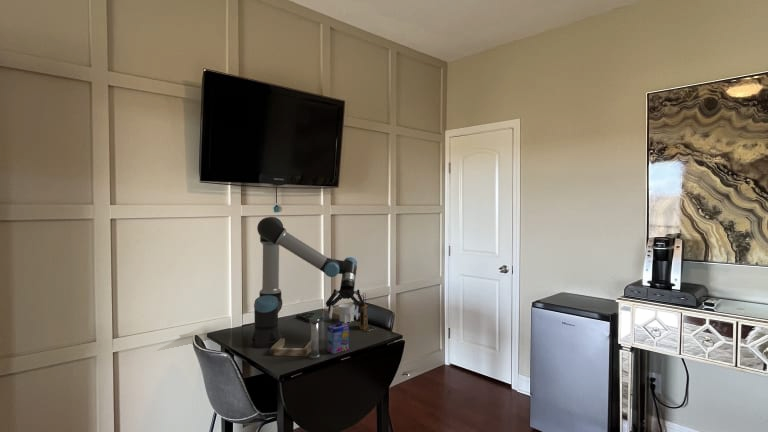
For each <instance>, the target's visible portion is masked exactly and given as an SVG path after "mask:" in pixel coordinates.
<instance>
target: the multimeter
mask: <svg viewBox="0 0 768 432" xmlns="http://www.w3.org/2000/svg"><path fill="white" fill-rule="evenodd" d="M360 295H361V297H362V300H363V302H364V305H365V307H361V312H360V313H359V330H360V329H361V330H362V332H363V333H368V331H369V332H372V331H371V330H372V329H373V328H374V329H373V330H378V329H377V328H375V327H373V326H372V325H371V324H370V328H371V329H369V330H367V331H364V330H366V328H368V304H367V302H366V301H367V300H366V297H367V296H366V295H367V294H366V292H363V293H362V294H360Z"/></svg>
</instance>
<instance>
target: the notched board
mask: <svg viewBox="0 0 768 432" xmlns="http://www.w3.org/2000/svg"><path fill="white" fill-rule="evenodd" d="M285 339H286V338H282V337H281V339H280V340H279V341H278V342H277V343H276V344H274V345H273V346H272V347H269V356H281V357H282V356H283V357H284V356H285V357H308V356H309V355H310V354H311V340H309V342H308V343H307V344H306V345H305V346H304V348H302V347H284V346H285V345H286V344H285V343H286V340H285Z"/></svg>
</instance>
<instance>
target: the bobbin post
mask: <svg viewBox="0 0 768 432" xmlns="http://www.w3.org/2000/svg"><path fill="white" fill-rule="evenodd" d="M309 322H311V323H310V341H311V352H310V353H309V355H308V356H309V359H311V360H318V359H320V358H321V353H320V349H319V348H320V345H319V344H320V343H319V342H320V334H319V333H320V332H319V331H320V322H321V320H320V318H318V317H314V318H310V319H309ZM309 322H308V323H309Z"/></svg>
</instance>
